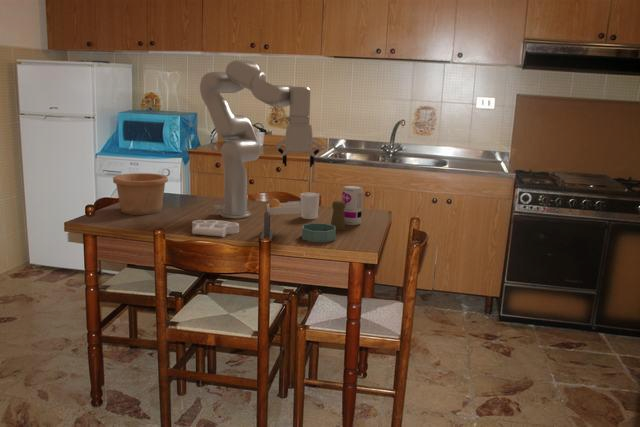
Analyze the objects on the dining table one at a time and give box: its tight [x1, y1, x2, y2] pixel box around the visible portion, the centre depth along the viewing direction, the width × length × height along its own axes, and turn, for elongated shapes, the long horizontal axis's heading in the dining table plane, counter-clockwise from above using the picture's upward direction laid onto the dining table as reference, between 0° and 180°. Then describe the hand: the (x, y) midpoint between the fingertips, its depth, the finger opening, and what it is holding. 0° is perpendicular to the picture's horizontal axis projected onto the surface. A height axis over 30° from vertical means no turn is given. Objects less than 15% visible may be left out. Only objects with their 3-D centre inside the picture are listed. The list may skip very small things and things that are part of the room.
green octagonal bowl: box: [301, 222, 337, 243], centre depth 216 cm, size 12×12×4 cm
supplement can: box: [341, 185, 364, 226], centre depth 239 cm, size 8×8×15 cm
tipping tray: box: [266, 200, 301, 216], centre depth 218 cm, size 12×18×2 cm, turn 2°
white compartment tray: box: [191, 219, 240, 238], centre depth 219 cm, size 3×18×15 cm
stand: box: [259, 206, 274, 242], centre depth 215 cm, size 4×14×10 cm, turn 2°
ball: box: [268, 198, 281, 208], centre depth 213 cm, size 4×4×4 cm
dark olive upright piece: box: [330, 200, 346, 231], centre depth 230 cm, size 6×6×11 cm
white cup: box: [300, 192, 320, 220], centre depth 246 cm, size 8×8×10 cm
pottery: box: [112, 172, 169, 216], centre depth 247 cm, size 22×22×14 cm
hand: (298, 166), depth 222 cm, fingers open, 9 cm apart
